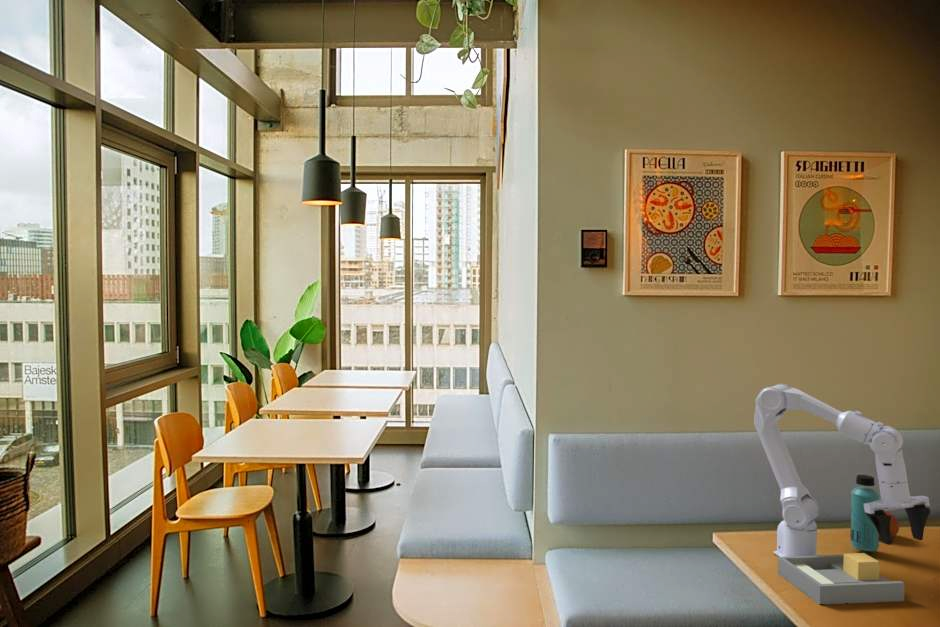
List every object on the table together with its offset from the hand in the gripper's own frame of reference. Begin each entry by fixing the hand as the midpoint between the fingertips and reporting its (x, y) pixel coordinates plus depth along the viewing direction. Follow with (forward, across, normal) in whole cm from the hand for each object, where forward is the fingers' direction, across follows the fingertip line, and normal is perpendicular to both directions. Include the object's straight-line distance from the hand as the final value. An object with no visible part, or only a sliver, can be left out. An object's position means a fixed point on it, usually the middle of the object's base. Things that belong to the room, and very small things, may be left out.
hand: (902, 541), depth 149 cm
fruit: (+9, +16, +31) cm, 36 cm away
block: (+7, -10, +2) cm, 12 cm away
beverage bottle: (+9, +4, +21) cm, 23 cm away
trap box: (+9, -16, +2) cm, 18 cm away
